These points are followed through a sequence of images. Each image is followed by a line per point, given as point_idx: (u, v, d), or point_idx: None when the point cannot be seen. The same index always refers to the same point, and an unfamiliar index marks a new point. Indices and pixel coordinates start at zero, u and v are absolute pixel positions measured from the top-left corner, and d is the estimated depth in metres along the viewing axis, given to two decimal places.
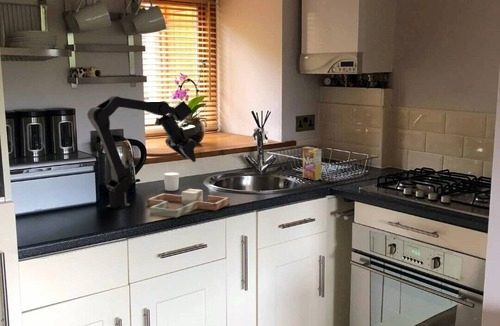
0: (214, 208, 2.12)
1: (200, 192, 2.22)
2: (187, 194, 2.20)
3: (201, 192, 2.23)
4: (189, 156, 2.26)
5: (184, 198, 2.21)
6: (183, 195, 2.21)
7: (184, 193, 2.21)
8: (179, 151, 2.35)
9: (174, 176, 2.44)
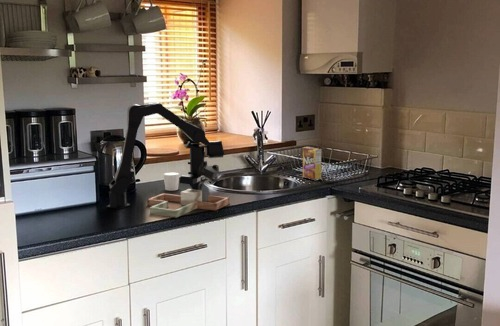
0: (214, 208, 2.12)
1: (199, 192, 2.22)
2: (186, 194, 2.19)
3: (200, 192, 2.22)
4: (193, 188, 2.25)
5: (183, 198, 2.20)
6: (182, 195, 2.20)
7: (183, 193, 2.20)
8: None
9: (174, 176, 2.44)
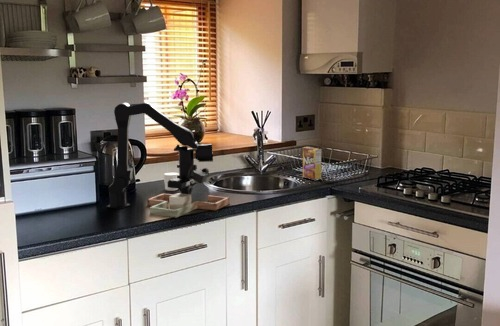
0: (214, 208, 2.12)
1: (188, 196, 2.15)
2: (175, 199, 2.12)
3: (189, 196, 2.15)
4: (182, 192, 2.18)
5: (172, 203, 2.13)
6: (170, 200, 2.13)
7: (172, 198, 2.13)
8: None
9: (174, 176, 2.44)
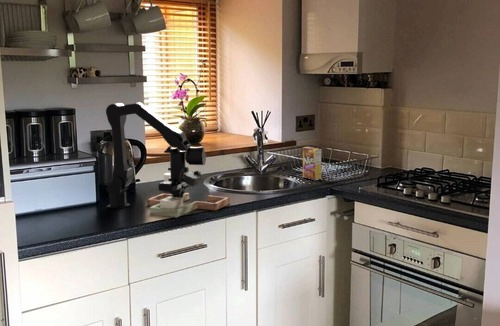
0: (214, 208, 2.12)
1: (180, 200, 2.09)
2: (166, 202, 2.07)
3: (181, 200, 2.10)
4: (173, 195, 2.13)
5: (163, 207, 2.08)
6: (161, 204, 2.08)
7: (162, 201, 2.07)
8: None
9: None
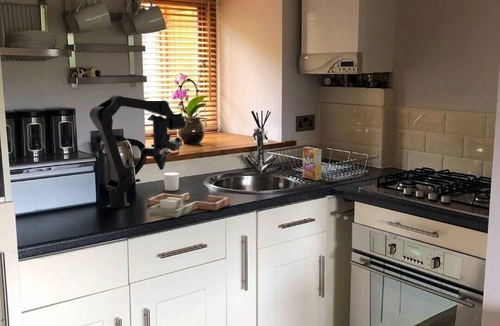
0: (214, 208, 2.12)
1: (180, 201, 2.09)
2: (166, 203, 2.07)
3: (181, 201, 2.10)
4: (156, 160, 2.27)
5: (163, 207, 2.08)
6: (161, 204, 2.08)
7: (163, 202, 2.07)
8: None
9: (174, 176, 2.44)
